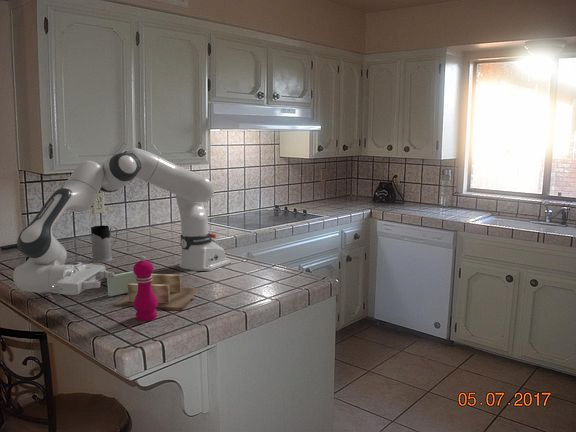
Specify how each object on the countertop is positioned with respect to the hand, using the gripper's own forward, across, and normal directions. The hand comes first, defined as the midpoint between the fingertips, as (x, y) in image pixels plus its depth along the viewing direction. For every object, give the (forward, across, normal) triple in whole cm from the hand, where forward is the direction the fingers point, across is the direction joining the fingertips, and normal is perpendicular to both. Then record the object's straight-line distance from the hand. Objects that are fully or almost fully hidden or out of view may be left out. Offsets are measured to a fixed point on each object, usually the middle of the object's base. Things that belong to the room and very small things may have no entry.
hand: (106, 279), depth 165 cm
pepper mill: (+12, 0, +12) cm, 17 cm away
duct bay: (+9, +17, +12) cm, 23 cm away
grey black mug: (-33, +69, +12) cm, 77 cm away
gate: (-3, +19, +11) cm, 22 cm away
